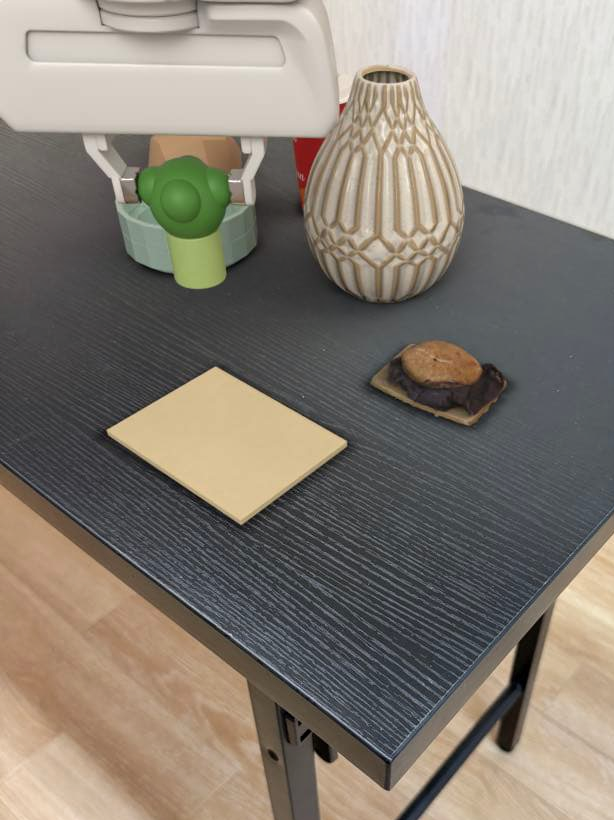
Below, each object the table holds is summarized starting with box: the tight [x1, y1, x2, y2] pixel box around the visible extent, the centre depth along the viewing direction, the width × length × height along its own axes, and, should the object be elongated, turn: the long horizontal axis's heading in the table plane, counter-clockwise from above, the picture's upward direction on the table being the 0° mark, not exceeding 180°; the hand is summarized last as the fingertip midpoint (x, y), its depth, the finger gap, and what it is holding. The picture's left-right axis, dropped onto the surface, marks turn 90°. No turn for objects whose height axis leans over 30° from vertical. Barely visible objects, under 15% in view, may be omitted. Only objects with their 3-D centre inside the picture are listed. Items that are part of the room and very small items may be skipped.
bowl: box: [114, 174, 259, 275], centre depth 87 cm, size 14×14×6 cm
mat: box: [106, 366, 348, 526], centre depth 67 cm, size 16×12×1 cm
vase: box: [302, 64, 466, 304], centre depth 78 cm, size 16×16×20 cm
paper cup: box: [292, 71, 353, 211], centre depth 91 cm, size 8×8×14 cm
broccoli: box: [137, 155, 231, 290], centre depth 54 cm, size 6×6×8 cm
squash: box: [147, 135, 243, 174], centre depth 98 cm, size 11×20×9 cm, turn 26°
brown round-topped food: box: [369, 339, 508, 427], centre depth 72 cm, size 11×8×4 cm
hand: (188, 201), depth 53 cm, fingers closed on broccoli, 6 cm apart
